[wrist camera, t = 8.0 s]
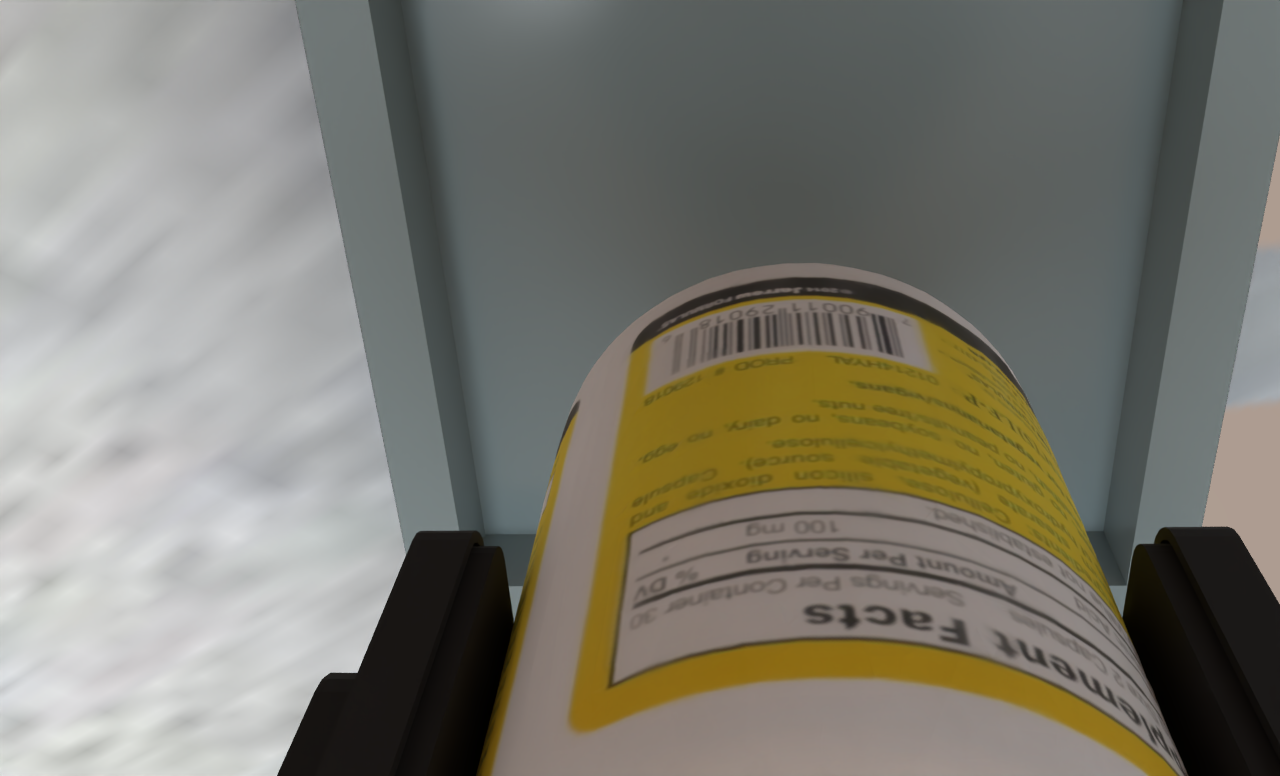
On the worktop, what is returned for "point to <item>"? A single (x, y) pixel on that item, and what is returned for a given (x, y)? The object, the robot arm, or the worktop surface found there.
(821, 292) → the supplement bottle
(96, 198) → the worktop surface
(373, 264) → the tray
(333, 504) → the worktop surface
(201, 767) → the worktop surface
